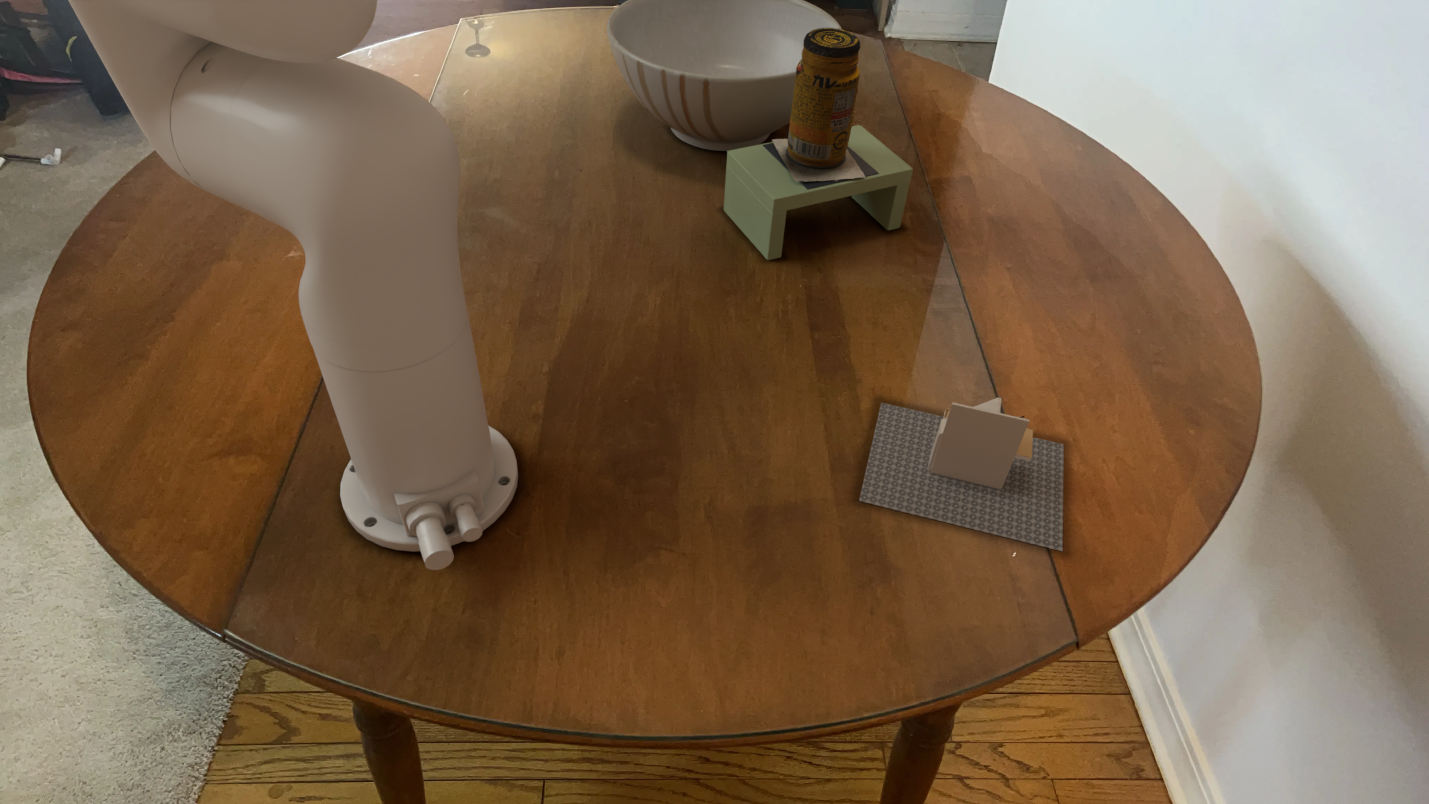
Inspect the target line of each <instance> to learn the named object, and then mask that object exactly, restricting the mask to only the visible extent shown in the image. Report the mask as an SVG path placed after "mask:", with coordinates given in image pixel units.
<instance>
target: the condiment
mask: <svg viewBox="0 0 1429 804" xmlns="http://www.w3.org/2000/svg"><path fill="white" fill-rule="evenodd" d="M803 47H804V48H803V50H802V59H801V60H800V62H799V63H798V65H797V68H796V76H795V85H794V93H793V102H792V110H791V118H790V123H789V127H788V136H787V138H775V139H774V138H773V139H771V142H773V143H774V145H775V147H776V149H777V150H778V153H779V155H780V156H781V158H782V160H783V162H784V163H785V164H786V167H787V168H788V170H789V172H790V174H791V175H792V177H793V179H794V181H804V182H806V181H828V180H835V181H837V180H840V179H854V178H861V177H865V175H864V173H863V172H862V171H861V169H860V167H859V166H858V165H857V163H856V161H855V160H854V158H853V157H852V156H851V155H850V153H849V152H848V150H847V147H848V142H849V137H850V133H851V128H852V126H853V125H852V124H853V122H854V113H855V105H856V99H857V95H858V92H859V81H860V73H861V72H860V69H859V67H858V64H859V59H860V57H859V56H860V55H859V53H860V50H861V48H862V47H861V41H860V39H859V37H858V36H857V35H855V34H854V33H852V32H850V31H848V30H845V29H843V28H842V29H836V28H819V29H814V30H812V31H810V32H809V33H807V34H806V36H805V38H804V44H803Z"/></svg>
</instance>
